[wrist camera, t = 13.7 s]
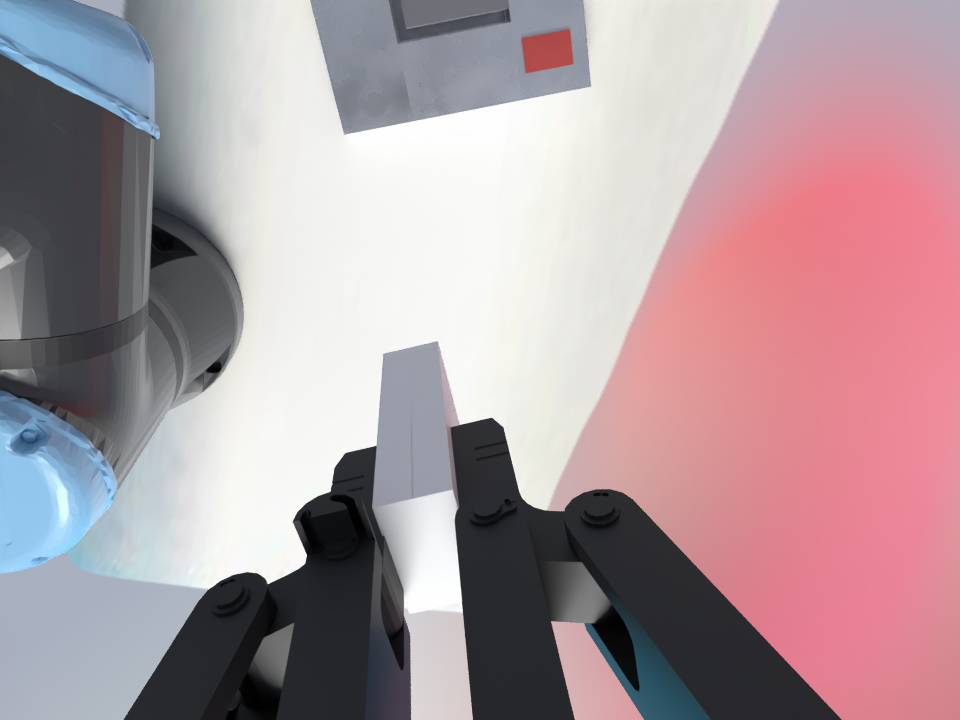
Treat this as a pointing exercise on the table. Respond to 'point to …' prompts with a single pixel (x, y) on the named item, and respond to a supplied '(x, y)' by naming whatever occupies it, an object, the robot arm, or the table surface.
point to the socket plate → (447, 59)
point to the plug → (446, 10)
